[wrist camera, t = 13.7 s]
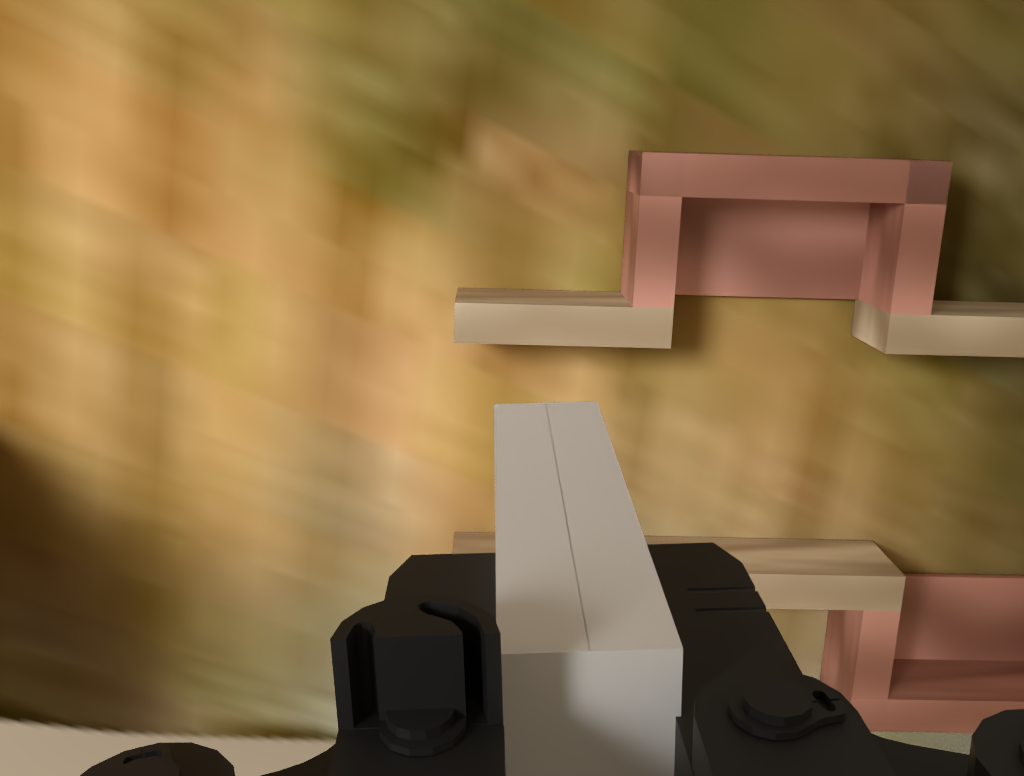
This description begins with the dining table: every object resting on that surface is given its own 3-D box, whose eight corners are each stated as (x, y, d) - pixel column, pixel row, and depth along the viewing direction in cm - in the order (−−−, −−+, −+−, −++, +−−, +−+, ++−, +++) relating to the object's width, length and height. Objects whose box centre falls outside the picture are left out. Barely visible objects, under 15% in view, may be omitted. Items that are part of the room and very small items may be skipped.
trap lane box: (460, 145, 37) (454, 147, 31) (1314, 171, 38) (1463, 178, 32) (452, 677, 43) (445, 763, 37) (1190, 690, 44) (1298, 775, 38)
